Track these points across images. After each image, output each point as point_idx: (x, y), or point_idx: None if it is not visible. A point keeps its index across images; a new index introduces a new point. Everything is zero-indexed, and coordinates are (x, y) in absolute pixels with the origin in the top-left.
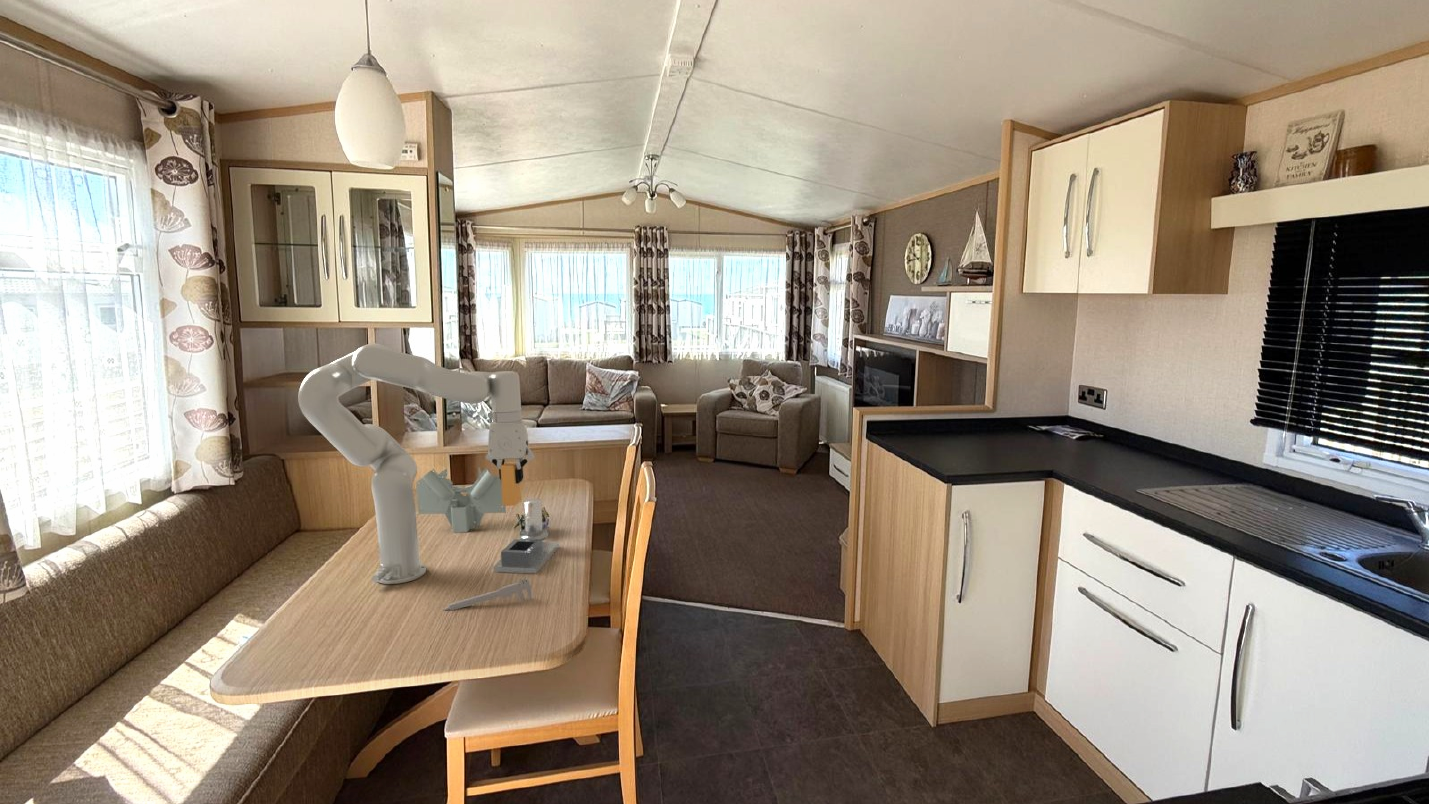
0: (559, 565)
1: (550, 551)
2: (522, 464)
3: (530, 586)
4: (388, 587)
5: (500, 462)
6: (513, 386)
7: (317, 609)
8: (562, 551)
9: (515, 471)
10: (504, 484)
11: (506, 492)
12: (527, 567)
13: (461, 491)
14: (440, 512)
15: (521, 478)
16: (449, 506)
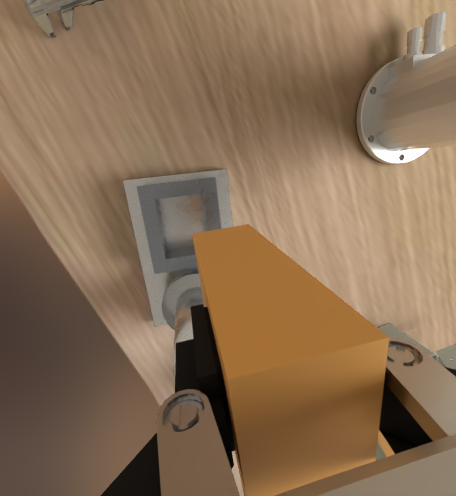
0: (99, 235)
1: (145, 277)
2: (144, 474)
3: (25, 4)
4: (394, 47)
5: (432, 401)
6: None
7: None
8: (137, 304)
9: (212, 359)
10: (267, 259)
11: (242, 245)
12: (146, 181)
13: None
14: (447, 350)
15: (177, 348)
16: None
